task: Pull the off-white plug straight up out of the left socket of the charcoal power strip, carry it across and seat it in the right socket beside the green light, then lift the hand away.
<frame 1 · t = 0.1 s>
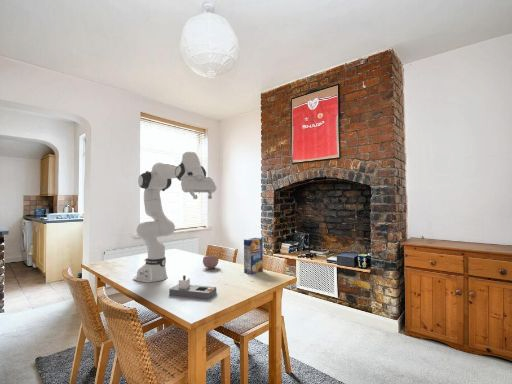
hand: (203, 198, 148), 54 cm above the table, tool tilted 30°, fingers open, 8 cm apart
plug: (184, 293, 156), resting on power strip
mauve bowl: (210, 268, 212), on the table
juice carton: (253, 272, 201), on the table
power strip: (193, 295, 154), on the table
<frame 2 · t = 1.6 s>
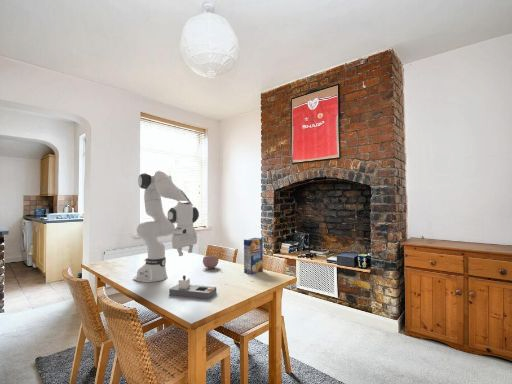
hand: (185, 254, 155), 23 cm above the table, tool pointing down, fingers open, 8 cm apart
nothing on the table moved.
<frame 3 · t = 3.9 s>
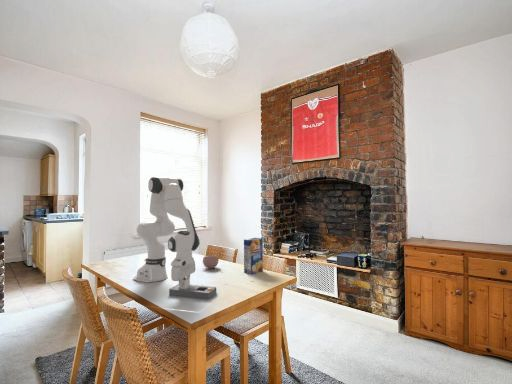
hand: (184, 284, 156), 6 cm above the table, tool pointing down, fingers closed on plug, 4 cm apart
plug: (184, 293, 156), point 1 cm above the table, touching gripper, power strip
everything else where it was.
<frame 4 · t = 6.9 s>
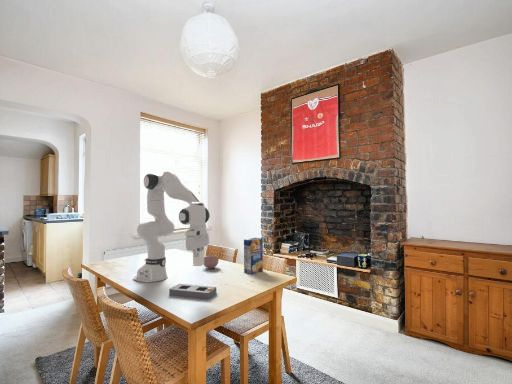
hand: (198, 255, 153), 22 cm above the table, tool pointing down, fingers closed on plug, 4 cm apart
plug: (198, 265, 153), point 17 cm above the table, touching gripper
everything else where it was.
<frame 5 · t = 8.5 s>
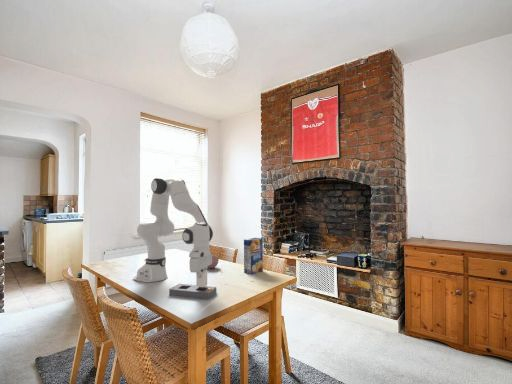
hand: (201, 276, 153), 11 cm above the table, tool pointing down, fingers closed on plug, 4 cm apart
plug: (201, 285, 153), point 6 cm above the table, touching gripper
everything else where it was.
when the fingers open (7 cm above the table, at t = 9.7 s): plug stays where it is, resting on power strip.
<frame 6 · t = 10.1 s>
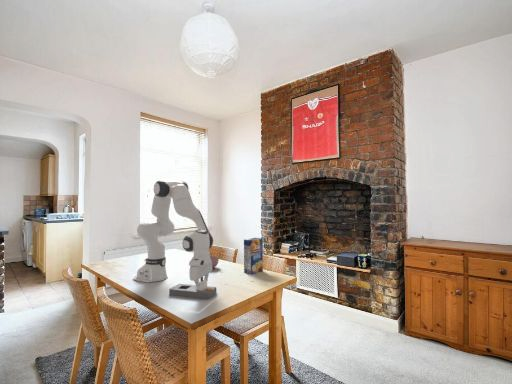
hand: (201, 284, 153), 7 cm above the table, tool pointing down, fingers open, 8 cm apart
plug: (201, 295, 153), resting on power strip
everything else where it was.
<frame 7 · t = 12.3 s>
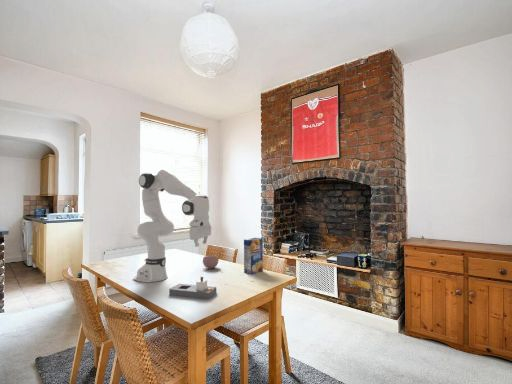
hand: (200, 245, 164), 26 cm above the table, tool pointing down, fingers open, 8 cm apart
nothing on the table moved.
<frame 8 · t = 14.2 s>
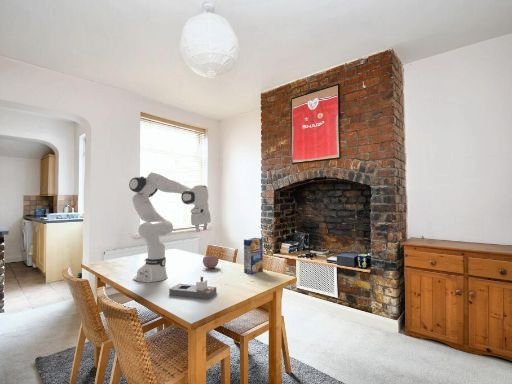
hand: (201, 231, 178), 33 cm above the table, tool pointing down, fingers open, 8 cm apart
nothing on the table moved.
at the end: plug 0.0 cm from the target spot on the power strip, point 0.5 cm above the power strip's base; the gripper is holding nothing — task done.
